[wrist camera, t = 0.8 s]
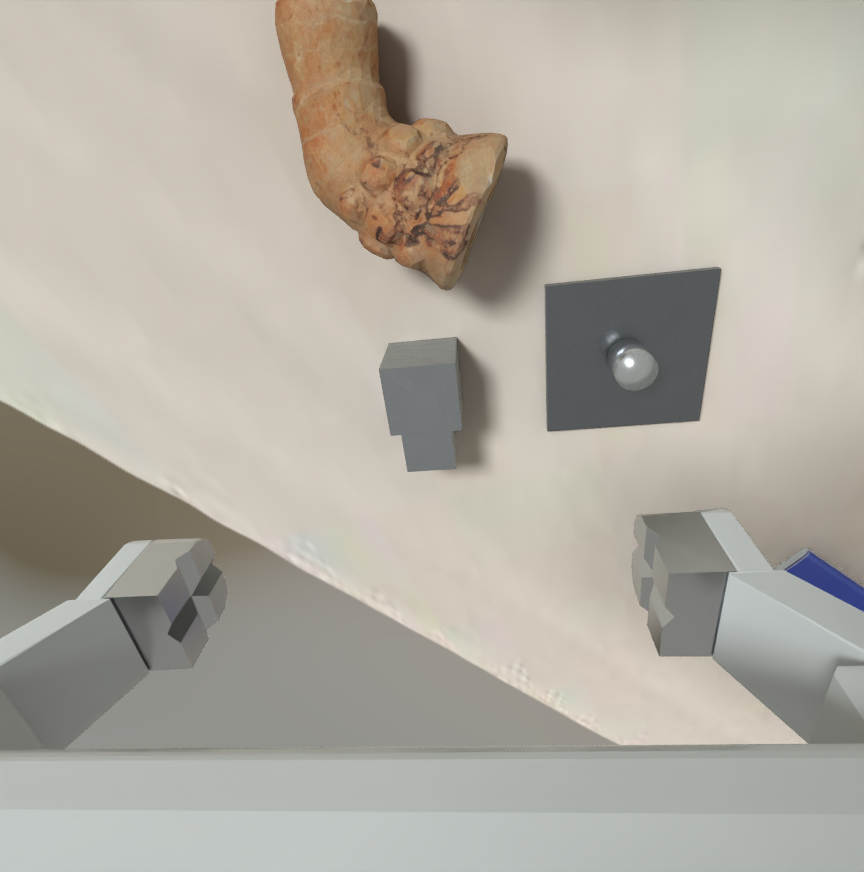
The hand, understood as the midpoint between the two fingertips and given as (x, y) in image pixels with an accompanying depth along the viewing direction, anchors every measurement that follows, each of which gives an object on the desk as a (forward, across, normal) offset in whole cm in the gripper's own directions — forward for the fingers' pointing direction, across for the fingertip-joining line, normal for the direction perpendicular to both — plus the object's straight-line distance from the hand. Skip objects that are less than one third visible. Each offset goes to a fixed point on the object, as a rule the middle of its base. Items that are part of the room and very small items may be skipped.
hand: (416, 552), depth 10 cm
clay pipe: (+38, +3, -7) cm, 39 cm away
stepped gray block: (+39, +4, +13) cm, 41 cm away
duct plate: (+39, -14, +11) cm, 43 cm away
